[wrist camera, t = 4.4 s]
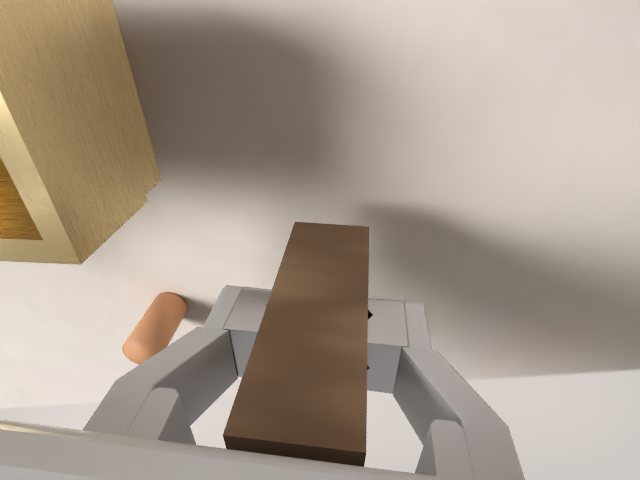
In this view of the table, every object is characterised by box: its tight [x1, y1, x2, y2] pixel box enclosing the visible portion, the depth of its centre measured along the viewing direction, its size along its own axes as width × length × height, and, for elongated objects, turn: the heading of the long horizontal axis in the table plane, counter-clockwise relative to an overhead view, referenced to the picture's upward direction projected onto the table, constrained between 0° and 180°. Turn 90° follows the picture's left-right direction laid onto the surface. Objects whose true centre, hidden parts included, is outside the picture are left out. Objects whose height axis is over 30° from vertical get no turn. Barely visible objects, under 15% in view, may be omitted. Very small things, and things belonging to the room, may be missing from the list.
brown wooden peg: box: [223, 222, 369, 467], centre depth 10 cm, size 2×2×7 cm
